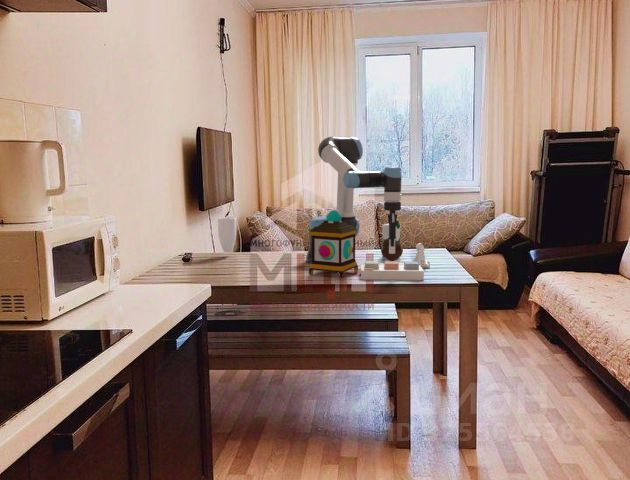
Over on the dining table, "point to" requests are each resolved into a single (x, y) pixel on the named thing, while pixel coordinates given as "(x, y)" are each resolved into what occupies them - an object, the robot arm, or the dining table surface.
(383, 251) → the ice cream bowl
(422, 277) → the console
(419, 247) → the sitting furry creature
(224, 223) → the cup
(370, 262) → the sage key
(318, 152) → the robot arm
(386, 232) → the milk carton
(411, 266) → the slate key
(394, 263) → the terracotta key
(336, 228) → the decorative lantern
